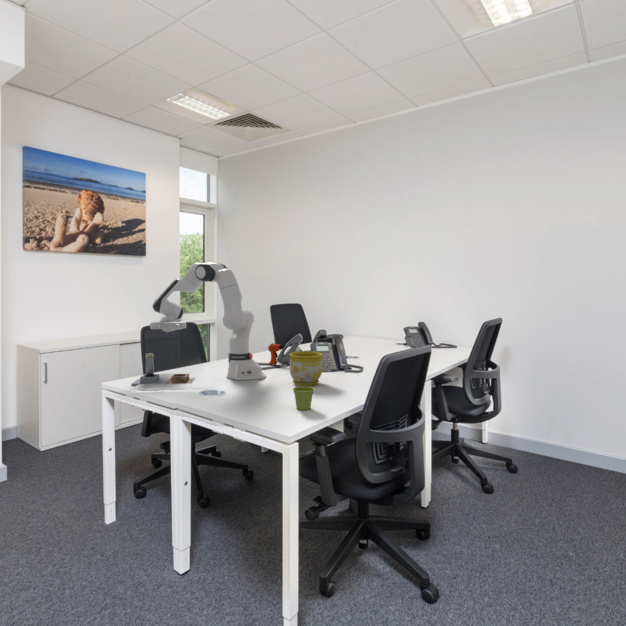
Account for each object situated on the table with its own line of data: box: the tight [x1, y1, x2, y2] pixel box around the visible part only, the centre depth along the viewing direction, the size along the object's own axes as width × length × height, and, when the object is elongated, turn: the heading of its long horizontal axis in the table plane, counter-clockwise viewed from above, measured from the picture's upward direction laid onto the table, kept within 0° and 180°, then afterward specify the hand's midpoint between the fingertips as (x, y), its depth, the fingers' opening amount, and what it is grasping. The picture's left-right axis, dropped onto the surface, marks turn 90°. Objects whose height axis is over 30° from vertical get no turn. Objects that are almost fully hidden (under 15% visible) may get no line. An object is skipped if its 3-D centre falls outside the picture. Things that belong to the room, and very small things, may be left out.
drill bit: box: [144, 352, 155, 377], centre depth 233 cm, size 4×4×15 cm
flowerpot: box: [289, 350, 323, 387], centre depth 235 cm, size 18×18×16 cm
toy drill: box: [267, 343, 286, 364], centre depth 288 cm, size 5×19×15 cm, turn 57°
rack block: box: [130, 373, 168, 386], centre depth 233 cm, size 16×12×4 cm
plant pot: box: [292, 386, 315, 411], centre depth 187 cm, size 9×9×9 cm
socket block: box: [164, 373, 196, 385], centre depth 235 cm, size 14×14×4 cm
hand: (169, 326), depth 248 cm, fingers open, 8 cm apart
